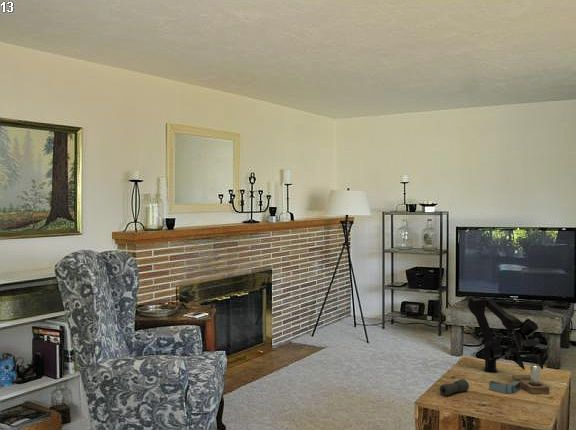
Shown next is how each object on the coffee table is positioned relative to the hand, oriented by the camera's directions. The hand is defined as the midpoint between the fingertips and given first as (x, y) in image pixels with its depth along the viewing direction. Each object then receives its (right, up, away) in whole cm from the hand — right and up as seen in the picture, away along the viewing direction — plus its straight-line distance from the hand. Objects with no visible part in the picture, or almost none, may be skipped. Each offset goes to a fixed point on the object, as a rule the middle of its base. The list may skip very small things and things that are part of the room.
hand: (533, 369), depth 271 cm
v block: (-14, -10, -3) cm, 17 cm away
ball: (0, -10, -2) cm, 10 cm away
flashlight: (-40, -10, -5) cm, 41 cm away
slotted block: (0, -10, +3) cm, 10 cm away
